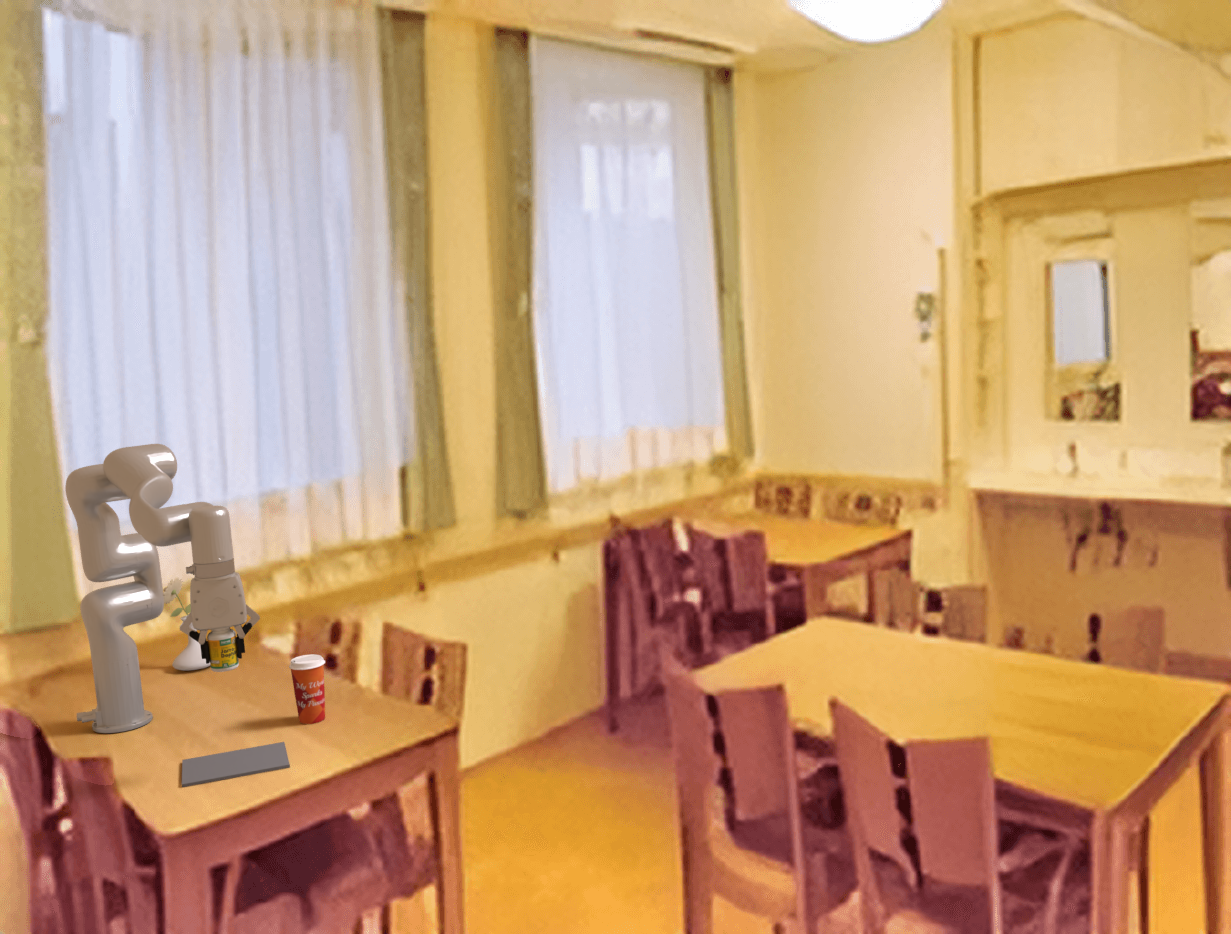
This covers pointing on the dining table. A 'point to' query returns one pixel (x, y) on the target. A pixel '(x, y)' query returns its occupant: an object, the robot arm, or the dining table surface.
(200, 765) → the charcoal mat
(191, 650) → the flower in vase
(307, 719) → the paper cup
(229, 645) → the supplement bottle
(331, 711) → the dining table surface
